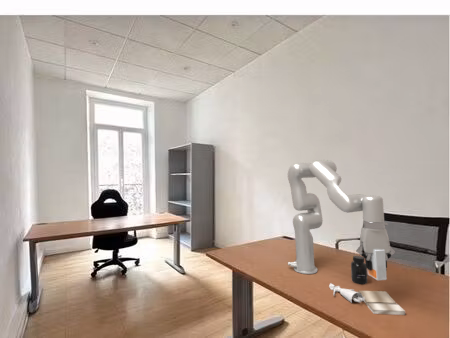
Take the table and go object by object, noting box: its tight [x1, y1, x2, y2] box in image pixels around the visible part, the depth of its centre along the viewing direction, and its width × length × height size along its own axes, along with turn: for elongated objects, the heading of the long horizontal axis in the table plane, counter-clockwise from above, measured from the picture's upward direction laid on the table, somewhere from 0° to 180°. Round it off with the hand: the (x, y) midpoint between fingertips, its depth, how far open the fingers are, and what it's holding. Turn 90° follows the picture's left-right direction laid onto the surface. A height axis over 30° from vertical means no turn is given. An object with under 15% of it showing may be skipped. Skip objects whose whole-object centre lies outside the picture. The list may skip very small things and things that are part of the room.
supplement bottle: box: [350, 255, 368, 286], centre depth 119 cm, size 7×7×12 cm
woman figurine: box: [328, 282, 365, 304], centre depth 106 cm, size 12×4×18 cm
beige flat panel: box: [357, 290, 397, 306], centre depth 101 cm, size 11×8×1 cm
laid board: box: [367, 303, 406, 316], centre depth 93 cm, size 11×5×2 cm, turn 82°
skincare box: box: [367, 250, 388, 281], centre depth 101 cm, size 6×4×12 cm
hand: (376, 268), depth 101 cm, fingers closed on skincare box, 5 cm apart
